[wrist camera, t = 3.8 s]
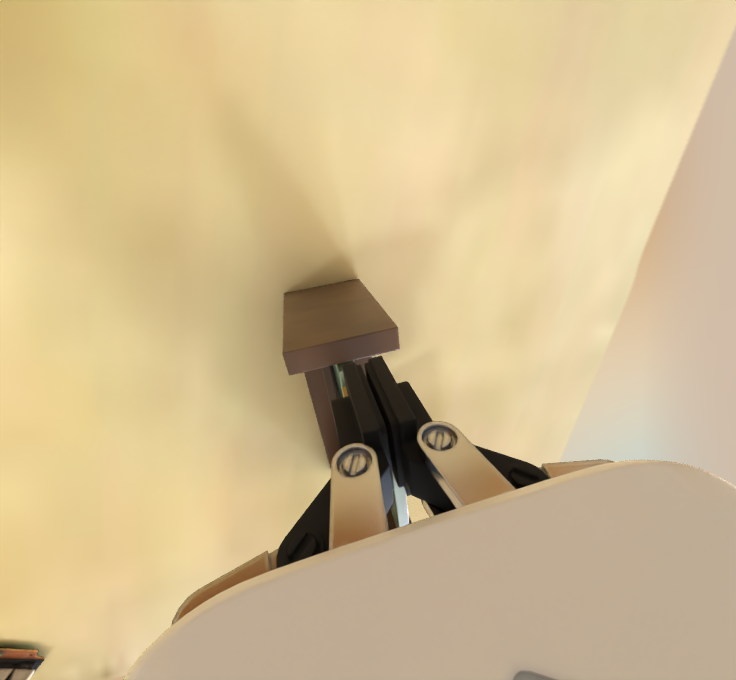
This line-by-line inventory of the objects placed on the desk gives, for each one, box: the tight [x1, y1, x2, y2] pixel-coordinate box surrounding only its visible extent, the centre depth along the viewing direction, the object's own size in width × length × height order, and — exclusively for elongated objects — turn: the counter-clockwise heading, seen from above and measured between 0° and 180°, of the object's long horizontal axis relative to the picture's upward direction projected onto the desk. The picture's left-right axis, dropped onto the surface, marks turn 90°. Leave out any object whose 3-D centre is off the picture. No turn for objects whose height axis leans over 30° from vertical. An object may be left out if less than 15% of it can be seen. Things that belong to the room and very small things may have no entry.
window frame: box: [283, 279, 411, 531], centre depth 28 cm, size 7×24×12 cm, turn 7°
